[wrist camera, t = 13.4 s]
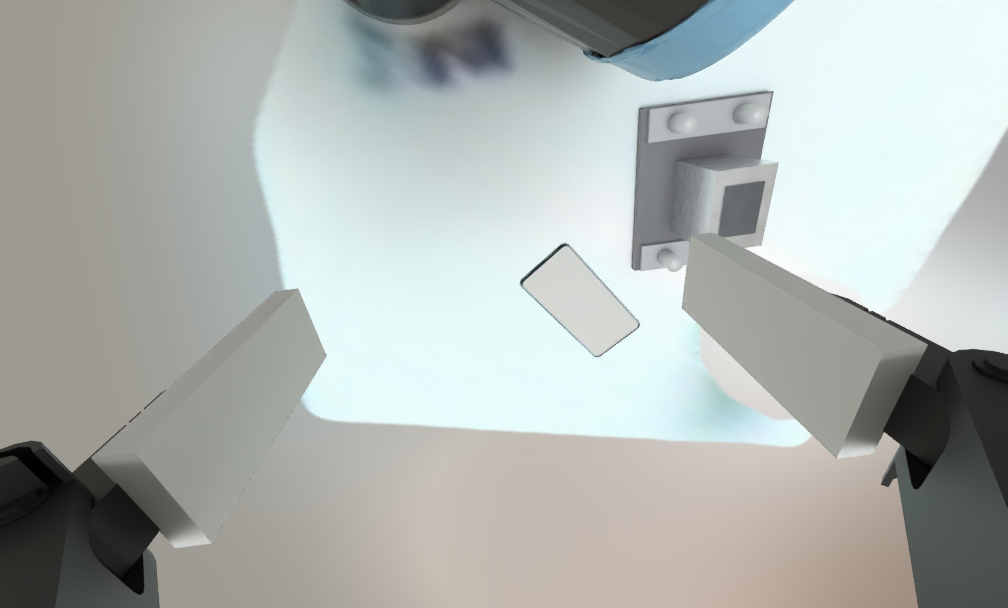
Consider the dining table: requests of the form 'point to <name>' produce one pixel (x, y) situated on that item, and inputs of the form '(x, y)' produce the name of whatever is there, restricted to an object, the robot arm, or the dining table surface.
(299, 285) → the dining table surface
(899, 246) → the dining table surface
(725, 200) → the block
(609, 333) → the smartphone
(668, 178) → the grey knobbed plate
